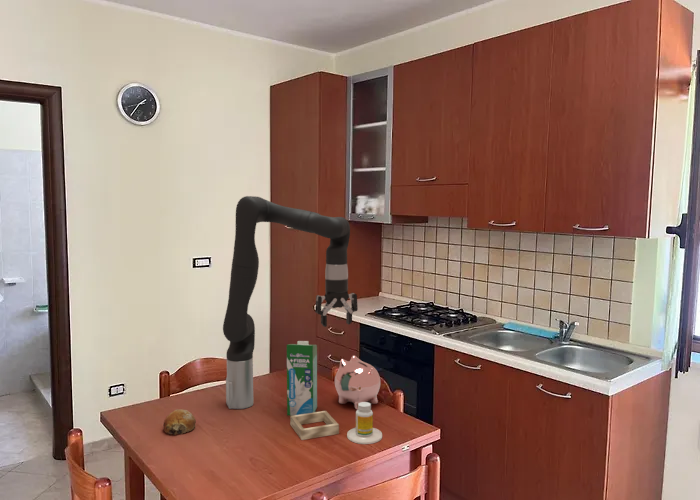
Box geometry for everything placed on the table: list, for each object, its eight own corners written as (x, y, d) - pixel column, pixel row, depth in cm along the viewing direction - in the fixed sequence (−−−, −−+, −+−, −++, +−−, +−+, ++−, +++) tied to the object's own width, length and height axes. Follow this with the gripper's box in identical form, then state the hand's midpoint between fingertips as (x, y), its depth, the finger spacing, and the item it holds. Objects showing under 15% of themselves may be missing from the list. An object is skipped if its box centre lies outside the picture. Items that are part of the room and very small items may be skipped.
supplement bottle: (352, 432, 175) (352, 402, 174) (367, 429, 178) (367, 399, 177) (360, 438, 170) (360, 408, 170) (375, 435, 173) (376, 405, 172)
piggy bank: (353, 390, 215) (353, 350, 214) (388, 402, 203) (389, 360, 201) (324, 401, 204) (324, 358, 203) (360, 414, 192) (360, 369, 190)
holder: (301, 440, 171) (301, 430, 171) (290, 424, 183) (290, 415, 182) (338, 433, 176) (338, 424, 176) (325, 419, 187) (325, 410, 187)
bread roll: (198, 438, 181) (205, 413, 183) (178, 436, 172) (185, 410, 174) (175, 433, 185) (181, 408, 187) (154, 431, 176) (161, 405, 178)
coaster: (355, 446, 167) (355, 444, 167) (341, 432, 177) (341, 429, 177) (388, 440, 171) (388, 438, 171) (373, 426, 181) (373, 424, 181)
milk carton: (317, 406, 199) (317, 338, 196) (313, 416, 190) (312, 345, 187) (292, 405, 199) (291, 337, 197) (287, 415, 190) (286, 344, 188)
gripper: (352, 274, 190) (351, 321, 192) (312, 276, 185) (312, 324, 186) (360, 277, 183) (360, 325, 185) (320, 280, 178) (320, 329, 179)
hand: (336, 325), depth 186 cm, fingers open, 8 cm apart
